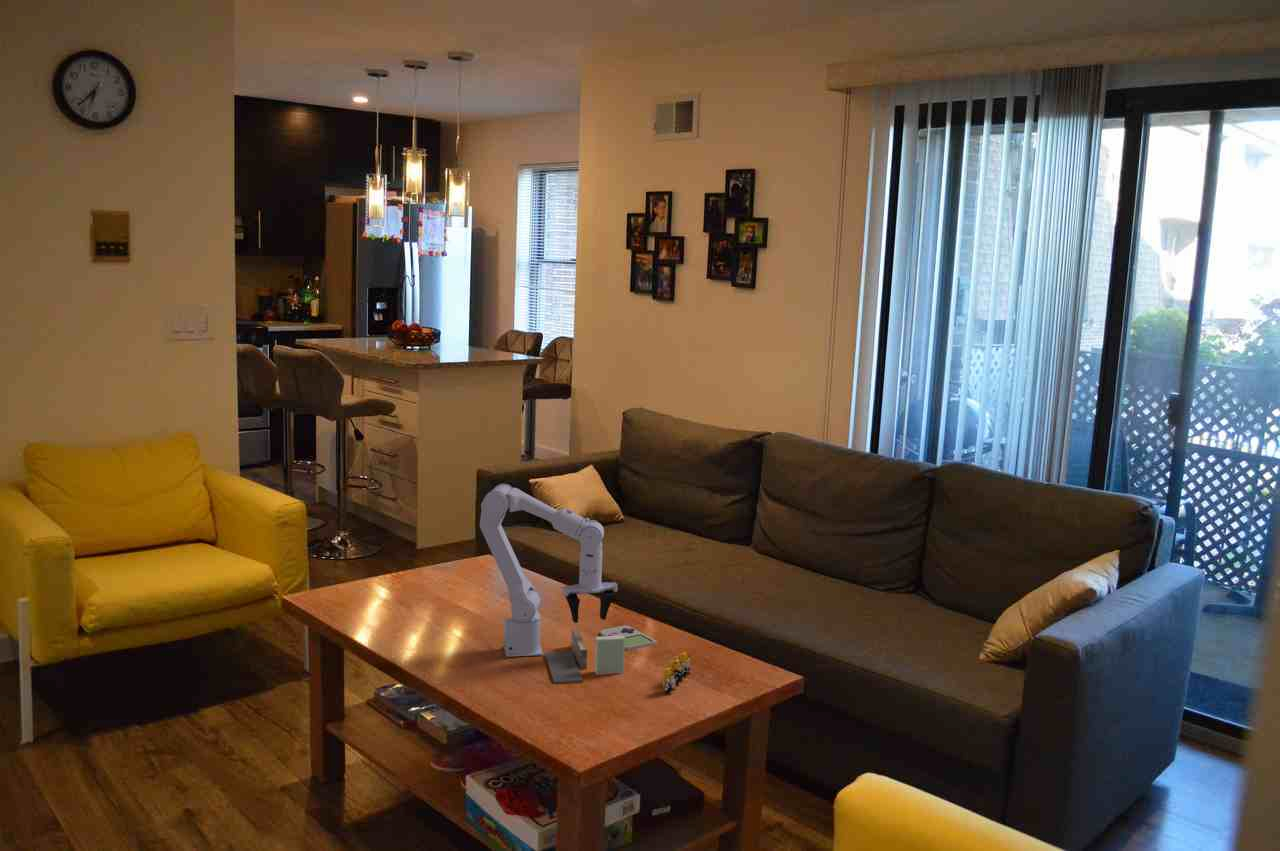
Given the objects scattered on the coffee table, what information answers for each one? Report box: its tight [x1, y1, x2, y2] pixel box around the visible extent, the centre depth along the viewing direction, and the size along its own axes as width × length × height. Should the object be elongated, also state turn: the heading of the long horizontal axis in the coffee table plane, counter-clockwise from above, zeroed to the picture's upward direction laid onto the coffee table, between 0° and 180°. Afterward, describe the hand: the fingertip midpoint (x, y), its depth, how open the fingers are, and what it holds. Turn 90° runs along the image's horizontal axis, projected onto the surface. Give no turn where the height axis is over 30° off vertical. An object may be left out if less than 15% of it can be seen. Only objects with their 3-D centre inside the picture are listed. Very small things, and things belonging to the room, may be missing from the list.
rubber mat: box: [544, 651, 584, 685], centre depth 260 cm, size 7×19×1 cm, turn 12°
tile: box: [594, 636, 626, 675], centre depth 258 cm, size 7×2×9 cm, turn 102°
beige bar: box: [570, 627, 588, 670], centre depth 268 cm, size 2×16×5 cm, turn 12°
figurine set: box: [662, 650, 691, 696], centre depth 253 cm, size 3×16×6 cm, turn 159°
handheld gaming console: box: [599, 625, 658, 651], centre depth 283 cm, size 10×2×15 cm
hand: (589, 620), depth 268 cm, fingers open, 7 cm apart
